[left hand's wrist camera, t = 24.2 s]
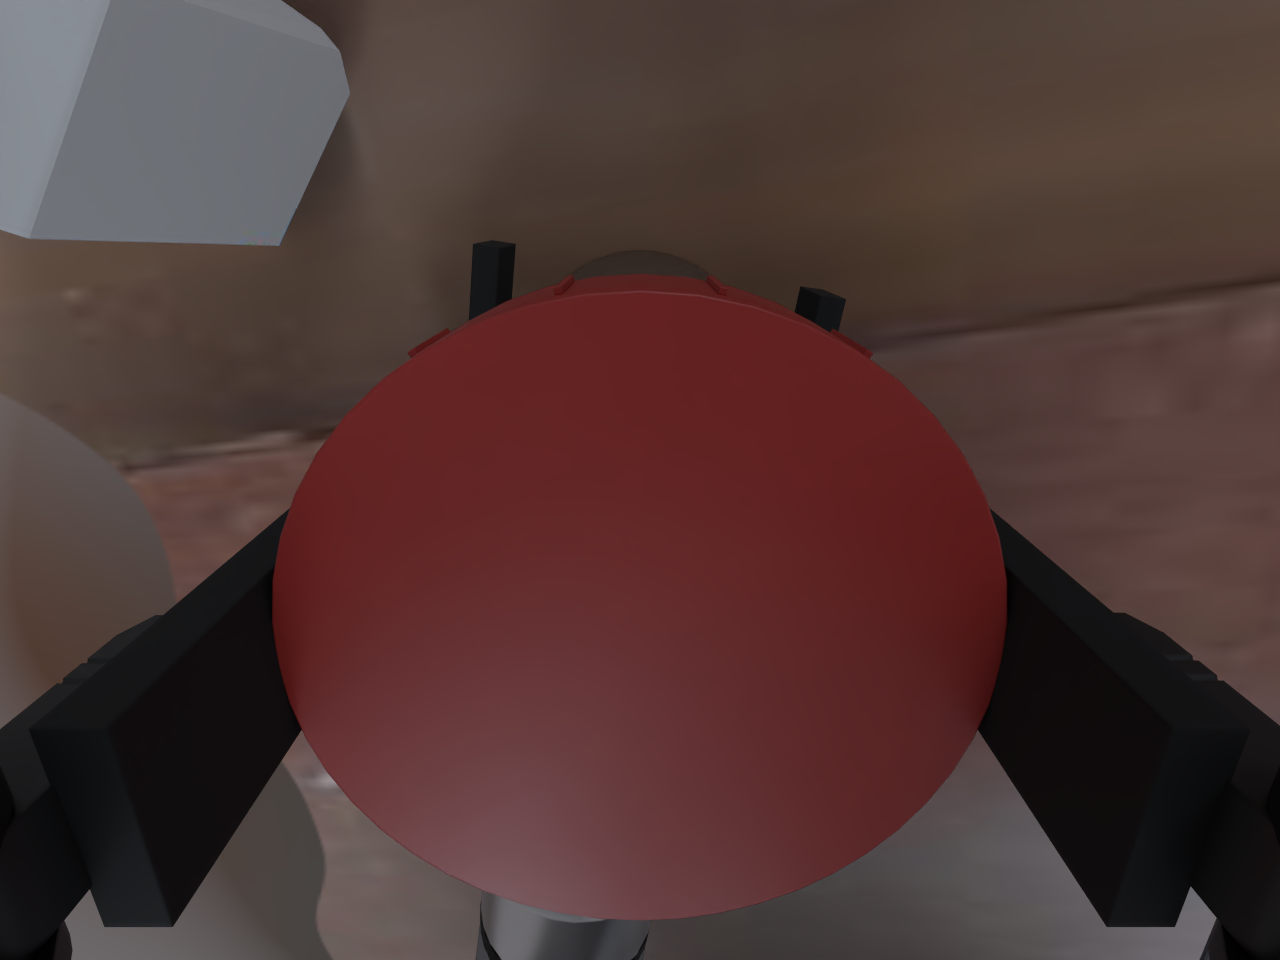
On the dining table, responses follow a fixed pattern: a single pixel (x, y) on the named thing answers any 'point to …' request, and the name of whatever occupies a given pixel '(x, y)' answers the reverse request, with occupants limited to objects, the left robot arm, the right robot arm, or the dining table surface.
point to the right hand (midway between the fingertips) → (660, 268)
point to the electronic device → (161, 118)
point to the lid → (639, 600)
